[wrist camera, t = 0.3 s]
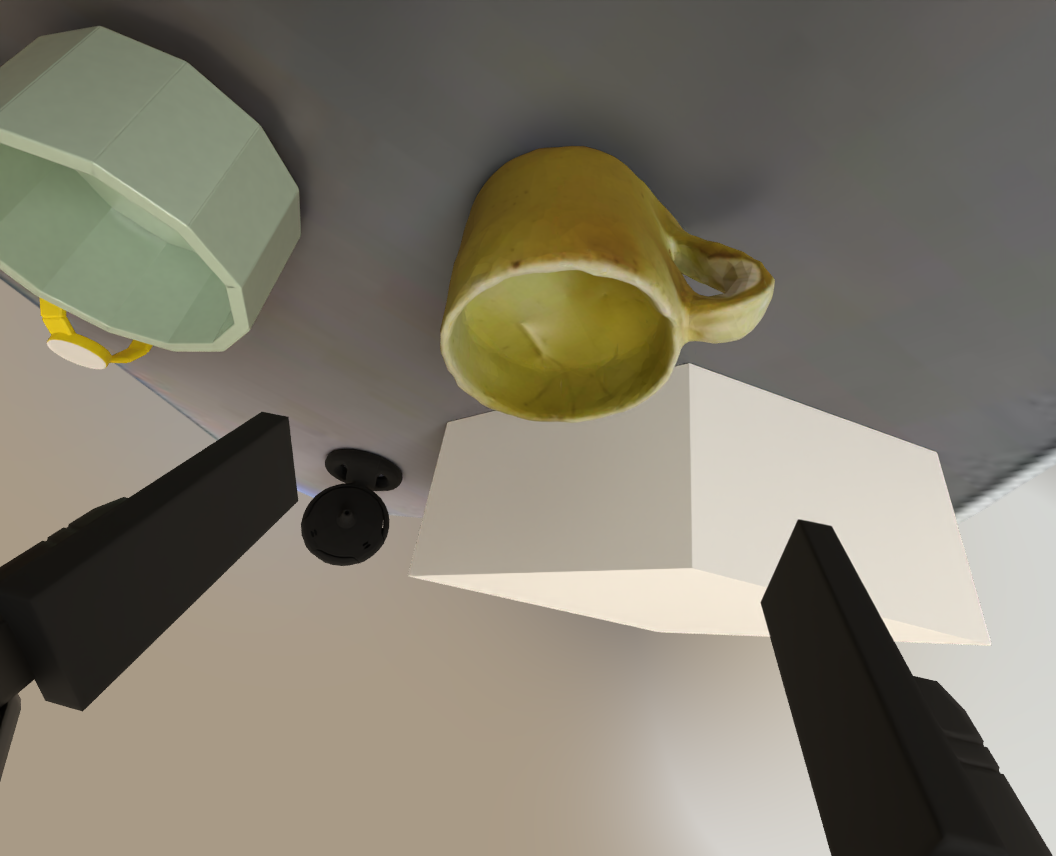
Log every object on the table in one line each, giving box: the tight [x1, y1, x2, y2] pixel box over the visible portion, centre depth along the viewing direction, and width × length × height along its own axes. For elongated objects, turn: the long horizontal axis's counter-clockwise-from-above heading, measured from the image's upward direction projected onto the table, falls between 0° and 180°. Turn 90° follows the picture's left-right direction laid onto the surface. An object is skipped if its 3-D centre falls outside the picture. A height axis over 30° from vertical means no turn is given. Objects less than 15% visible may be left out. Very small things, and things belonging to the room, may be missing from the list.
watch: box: [40, 298, 153, 369], centre depth 30 cm, size 6×3×6 cm, turn 9°
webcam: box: [301, 449, 402, 566], centre depth 49 cm, size 8×8×10 cm
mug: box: [440, 146, 775, 423], centre depth 22 cm, size 12×10×10 cm
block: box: [408, 363, 992, 646], centre depth 35 cm, size 18×35×12 cm, turn 97°
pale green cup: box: [0, 26, 301, 352], centre depth 20 cm, size 13×10×6 cm
